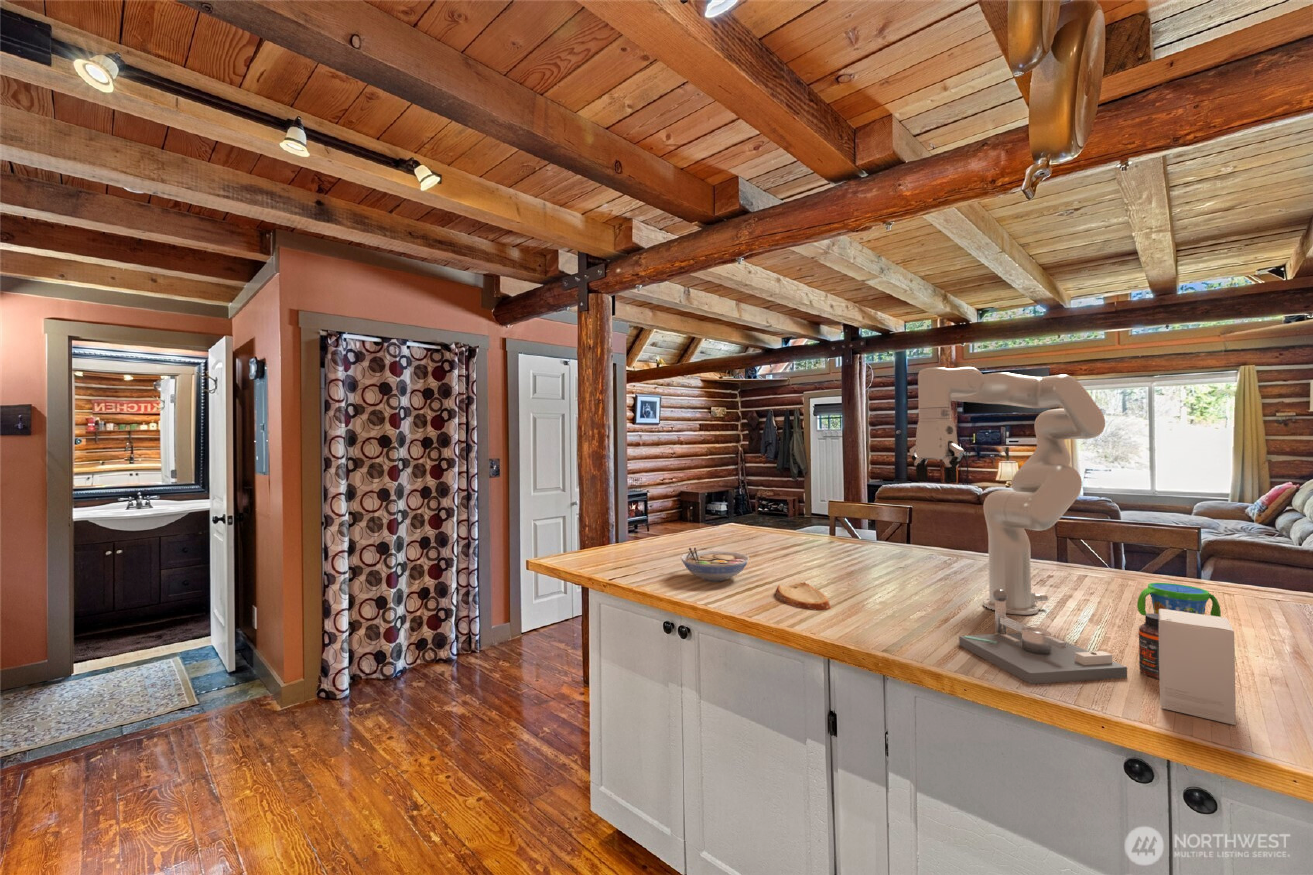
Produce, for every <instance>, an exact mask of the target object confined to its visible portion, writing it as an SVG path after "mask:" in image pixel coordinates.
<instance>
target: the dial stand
mask: <svg viewBox="0 0 1313 875" xmlns="http://www.w3.org/2000/svg"><path fill="white" fill-rule="evenodd" d="M1051 636H1052V637H1054V638H1057V639H1059V640H1061V641H1064V642H1066V649H1059V648H1057V647H1055V646H1052V645H1051V651H1052V652H1051V653H1046V654H1043V653H1035V652H1031V651H1028V650H1025V649H1024V648H1022V633H1021V632H1011V633H1007V632H1006V634H999V633H992V634H989V633H988V634H976V635H975V634H973V635H958V642H959V643H958V644H959V646H960V647H962V648H963V649H966V650H967V651H969V652H971V653H973V654H974V655H977V656H978V657H981V658H982V659H984V660H986V661H988V662H990V664H991V663H992V665H995V666H997V667H999V668H1000V669H1002V670H1004V671H1005V672H1008V673H1010V674H1012V675H1013V676H1015V677H1016V678H1018V679H1021V680H1023V681H1024V682H1025V683H1028V684H1030V685H1037V684H1039V685H1040V684H1052V683H1066V682H1082V681H1083V682H1084V681H1097V680H1112V679H1113V680H1116V679H1128V667H1127V666H1125V665H1123V664H1121V663H1118V662H1116V661H1113V654H1111V653H1109V652H1106V651H1104V650H1099V651H1097V650H1096V651H1095V650H1094V651H1089V650H1087V649H1084V648H1082V647H1080V646H1077V645H1075V644H1073V643H1070V642H1068V641H1065V640H1063V639H1060V638H1058V637H1056V636H1053V635H1051Z"/></svg>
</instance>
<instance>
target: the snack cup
mask: <svg viewBox="0 0 1313 875" xmlns="http://www.w3.org/2000/svg"><path fill="white" fill-rule="evenodd" d="M1149 595H1150V599H1151V604H1152V609H1153V614H1159V609H1168V610H1175V611H1182V612H1188V613H1195V614H1202V615H1206V614H1205V613H1206V605H1207V602H1208V601H1209V599H1210V600H1211V604H1212V605H1211V609H1210V613H1209V614H1210V616H1218V617H1221V615H1222V613H1221V612H1222V611H1221V606H1220V603H1219V601H1218V598H1216V596H1215V595H1214V594H1212V593H1210V592H1209V591H1208V590H1207V589H1203V588H1199V587H1196V586H1191V585H1187V584H1186V585H1185V584H1180V583H1179V584H1178V583H1171V582H1170V583H1169V582H1151V583H1150V582H1149V583H1148V584H1147V588H1144V589H1143V590H1142V591H1141V592H1140V594H1139V596H1138V598H1137V603H1136V604H1137V605H1136V606H1137V611H1138V612H1139V614H1140V615H1142V616H1145V615H1146V614H1147V611H1146V604H1147V603H1146V598H1147V596H1149Z"/></svg>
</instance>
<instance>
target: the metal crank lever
mask: <svg viewBox="0 0 1313 875" xmlns="http://www.w3.org/2000/svg"><path fill="white" fill-rule="evenodd" d="M1007 597H1008V596H1007V593H1006V592H1005V591H1004V590H1002V589H997V590H995V591H994V592H993V598H994V599H995V612H994V617H995V619H994V621H995V622H994V624H995V626H994V627H995V634H1007V628H1010V629H1012V630H1014V631H1016V632H1018V633H1022V648H1024V649H1025V650H1028V651H1031V652H1035V653H1043V654H1046V653H1051V652H1052V651H1051V645H1052V646H1055V647H1057V648H1059V649H1066V642H1067V641H1065V640H1063V641H1061V640H1062V639H1061V640H1059V639H1060V638H1058V637H1056V638H1054V637H1055V636H1053V635H1052V633H1051V631H1048V630H1047V629H1043V628H1039V627H1031V626H1029V625H1026V624H1025V623H1022V622H1019V621H1018V620H1014V619H1012V618H1010V617H1008V616H1007V613H1006V600H1007ZM1052 636H1053V637H1052ZM1057 638H1058V639H1057ZM1064 641H1065V642H1064Z"/></svg>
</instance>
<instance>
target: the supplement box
mask: <svg viewBox="0 0 1313 875" xmlns="http://www.w3.org/2000/svg"><path fill="white" fill-rule="evenodd" d="M1235 650H1236V649H1235V630H1234V629H1233V627H1232V624H1231V623H1230V620H1229V619H1228V618H1227V617H1224V616H1223V617H1221V616H1220V617H1218V616H1211V615H1208V614H1204V615H1202V614H1195V613H1188V612H1182V611H1175V610H1168V609H1159V679H1158V681H1159V698H1160V707H1161V709H1164V710H1168V711H1173V712H1176V713H1181V714H1184V715H1190V716H1194V717H1198V718H1203V719H1206V720H1211V721H1216V722H1219V723H1224V724H1228V725H1232V726H1236V725H1237V722H1236V719H1237V718H1236V716H1237V715H1236V713H1237V711H1236V710H1237V709H1236V708H1237V707H1236V705H1237V704H1236V703H1237V702H1236V697H1237V696H1236V660H1235V659H1236V658H1235V657H1236V655H1235V654H1236V653H1235V652H1236V651H1235Z"/></svg>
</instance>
